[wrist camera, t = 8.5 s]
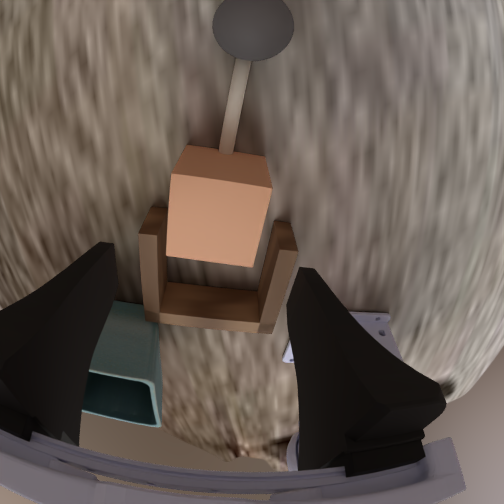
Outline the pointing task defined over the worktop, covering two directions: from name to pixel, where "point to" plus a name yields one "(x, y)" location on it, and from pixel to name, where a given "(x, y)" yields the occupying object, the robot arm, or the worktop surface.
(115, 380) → the flower pot
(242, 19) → the tethered block
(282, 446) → the worktop surface
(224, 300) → the lane
